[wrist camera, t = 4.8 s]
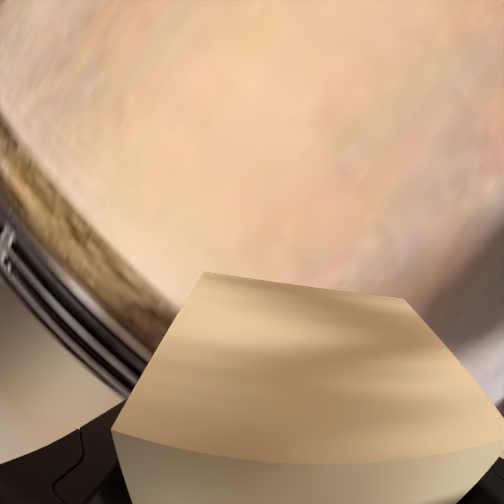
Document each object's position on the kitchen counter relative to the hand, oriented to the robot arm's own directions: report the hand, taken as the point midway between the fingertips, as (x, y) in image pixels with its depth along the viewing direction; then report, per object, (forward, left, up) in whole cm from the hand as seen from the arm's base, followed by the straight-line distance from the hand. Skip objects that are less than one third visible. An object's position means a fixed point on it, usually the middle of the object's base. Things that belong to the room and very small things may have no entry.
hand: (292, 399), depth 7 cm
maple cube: (0, 0, -1) cm, 1 cm away
